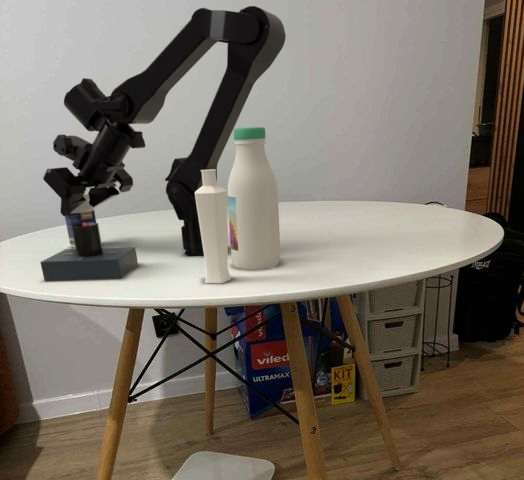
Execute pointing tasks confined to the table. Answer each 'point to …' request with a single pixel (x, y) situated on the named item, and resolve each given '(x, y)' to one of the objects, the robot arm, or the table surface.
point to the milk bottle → (253, 203)
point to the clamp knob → (87, 239)
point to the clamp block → (89, 265)
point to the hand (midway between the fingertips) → (73, 212)
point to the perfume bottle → (213, 227)
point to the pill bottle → (80, 217)
